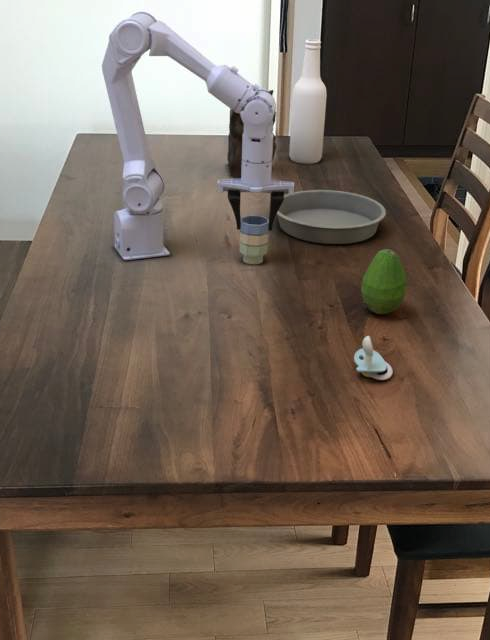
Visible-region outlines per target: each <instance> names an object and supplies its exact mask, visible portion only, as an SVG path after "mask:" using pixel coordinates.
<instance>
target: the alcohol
mask: <svg viewBox="0 0 490 640" xmlns="http://www.w3.org/2000/svg"><path fill="white" fill-rule="evenodd" d="M304 43H305V44H304V55H303V63H302V70H301V75H300V78H298V80H297V81H296V83H295V84H294V85H293V90H292V98H291V113H290V114H291V116H290V133H289V152H288V156H289V159H290V160H291V161H292V162H294V163H298V164H304V165H308V164H309V165H312V164H316V163H318V162H320V161H321V160H322V158H323V147H324V135H325V134H324V133H325V122H326V121H325V120H326V110H327V109H326V108H327V107H326V106H327V97H328V95H327V87H326V85H325V83H324V82H323V81H322V77H321V47H322V46H321V44H322V41H321V40H320V39H316V38H308V39H306V40H305V41H304Z"/></svg>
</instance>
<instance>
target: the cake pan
mask: <svg viewBox="0 0 490 640" xmlns="http://www.w3.org/2000/svg"><path fill="white" fill-rule="evenodd" d="M386 214H387V211H386V208H385V207H384V205H382V204H381V203H380V202H378V201H377V200H375V199H373V198H370V197H368V196H366V195H362V194H358V193H355V192H350V191H343V190H332V189H311V190H300V191H294V195H288V194H284V201H283V203H282V205H281V206H280V208H279V210H278V212H277V214H276V216H277V218H278V224H279V228H280V229H281V230H282V231H283V232H284V233H285V234H287V235H289V236H291V237H293V238H295V239H299V240H302V241H306V242H311V243H316V244H323V245H324V244H325V245H345V244H347V245H348V244H354V243H355V244H356V243H360V242H364V241H366V240H369V239H371V238H373V236H374V235H375V234H376V233H377V229H378V226H379V224H380V222H381V221H383V220H384V218H385V217H386Z"/></svg>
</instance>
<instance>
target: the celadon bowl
mask: <svg viewBox="0 0 490 640" xmlns="http://www.w3.org/2000/svg"><path fill="white" fill-rule="evenodd" d="M268 244H269V241H268V242H267V243H266V244H264V245H262V246H247V245H245V244H243V243H241V242H240V241H239V245H238V246H239V249H238V251H239V253H240V254H241V255H242V261H243V262H244V263H245V264H248V265H259V264H262V263H263V262H264V256H265V255H267V253H268V249H269V248H268V247H269V245H268Z"/></svg>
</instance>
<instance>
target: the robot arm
mask: <svg viewBox="0 0 490 640" xmlns="http://www.w3.org/2000/svg"><path fill="white" fill-rule="evenodd" d="M148 51H149V53H148V56H149V57H168V58H170V59H171V60H173V61H174V62H176V63H177V64H179V65H180V66H182V67H183V68H185V69H186V70H188V71H189V72H191V73H192V74H194V75H196V76H197V77H198V78H200V79H201V80H203V81H204V82H205V84H206V89H207V92H208V93H209V94H210V95H211V96H213V98H215V99H216V100H218V101H220V102H221V103H222V104H223V105H225V106H226V107H228V108H229V110H230V109H232V110H233V111H234V112H236V113H239V114H240V115H241V119H242V121H243V123H244V133H243V136H242V167H241V178H228V179H227V178H226V179H225V178H223V179H220V178H219V179H217V193H224V192H227V201H228V202H229V205H230V206H231V210H232V212H233V215H234V219H235V223H236V230H239V231H240V229H241V222H240V221H241V218H242V217H241V216H242V215H241V193H256V194H258V193H260V194H262V193H263V194H269V195H270V201H269V214H268V219H269V228H268V230H269V231H268V232H272V231H273V226H274V222H275V219H276V217H277V212H278V210H279V208H280V206H281V205H282V203H283V201H284V195H287V194H288V195H294V192H295V182H294V181H285V180H278V179H272V172H273V171H272V169H273V161H272V152H273V134H274V125H273V121H272V119H273V116H274V114H275V111H276V112H277V103H276V100H275V98H274V96H273V95H271V94H270V93H269V91H270V90H267V89H265V88H261V87H260V86H259V84H257V83H254V84H252V83H251V82H250V81H249V80H248V79H246V78H245V77H243V76H242V75H241V74H239V73H238V72H239V69H238V68H237V67H236V66H235V65H232V66H231V67H230V66H229V65H227V64H219V65H216V64H214V63H213V62H212V61H211V60H210V59H208V58H207V57H206V56H205V55H203V54H202V53H201V52H200V51H199V50H197V49H196V48H195V47H194V46H193V45H191V44H190V43H189V42H188V41H187V40H185V39H184V38H183V37H182V36H180V35H179V34H178V33H177V32H175V31H174V30H173V29H172V28H171V27H170V26H169V25H168V24H167V23H165V22H163V21H162V20H160V19H158V20H157V18H156V17H155V16H154V15H153V14H151V13H149V12H147V11H137V12H135V13H133V14H132V15H131V16H130V17H128V18H125V19H123V20H121V21H120V22H118V24H116V25H115V27H114V28H113V30H112V31H111V32H110V33H109V34H108V43H107V46H106V50H105V53H104V56H103V59H102V63H101V71H102V76H103V80H104V83H105V89H106V92H107V97H108V101H109V106H110V109H111V113H112V118H113V121H114V122H113V123H114V126H115V131H116V135H117V139H118V142H119V148H120V151H121V154H122V156H121V157H122V160H123V170H122V182H123V190H122V195H121V196H122V197H121V198H122V202H123V204H124V206H125V208H123V209H120V210H116V211H114V212H113V213H114V214H113V229H114V230H113V231H114V246H113V247H114V249H115V250H116V252H118V254H119V255H120V257H121V258H122V260H124V261H131V260H141V259H148V258H157V257H166V256H170V254H171V253H170V251H169V250H168V249H167V248H166V246H165V245H164V215H163V214H164V213H163V212H164V211H163V210H164V209H163V204H162V202H161V199H160V197H161V196H162V194H163V193H164V191H165V186H166V185H165V181H164V178H163V176H162V174H161V173H160V171H158V168H157V165H156V161H155V160H154V159H153V157H152V156H151V154H150V149H149V146H148V145H149V144H148V141H147V136H146V132H145V127H144V122H143V118H142V114H141V109H140V103H139V100H138V95H137V90H136V86H135V82H134V76H133V72H132V71H133V70H134V68H135V67H136V65H137V64H138V62H139V61H140V60H141V58H142V56H143V55H144V54H145V53H146V52H148ZM236 106H237V107H236ZM235 108H236V109H235ZM234 109H235V110H234ZM272 132H273V133H272Z"/></svg>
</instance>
